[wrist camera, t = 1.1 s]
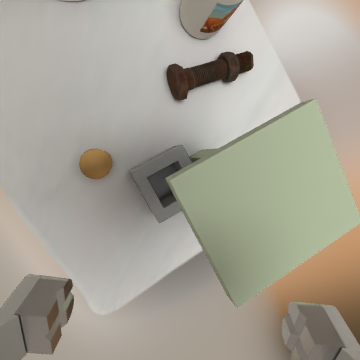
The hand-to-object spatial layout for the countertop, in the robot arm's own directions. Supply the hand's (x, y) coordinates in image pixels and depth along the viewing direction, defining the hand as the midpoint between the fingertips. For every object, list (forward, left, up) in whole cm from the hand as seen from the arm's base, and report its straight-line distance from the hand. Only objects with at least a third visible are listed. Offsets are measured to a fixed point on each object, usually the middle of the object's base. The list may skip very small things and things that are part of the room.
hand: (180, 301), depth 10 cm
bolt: (-11, +22, -36) cm, 43 cm away
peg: (-6, -2, -36) cm, 36 cm away
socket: (+2, +6, -36) cm, 36 cm away
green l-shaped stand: (+2, +9, -36) cm, 37 cm away
